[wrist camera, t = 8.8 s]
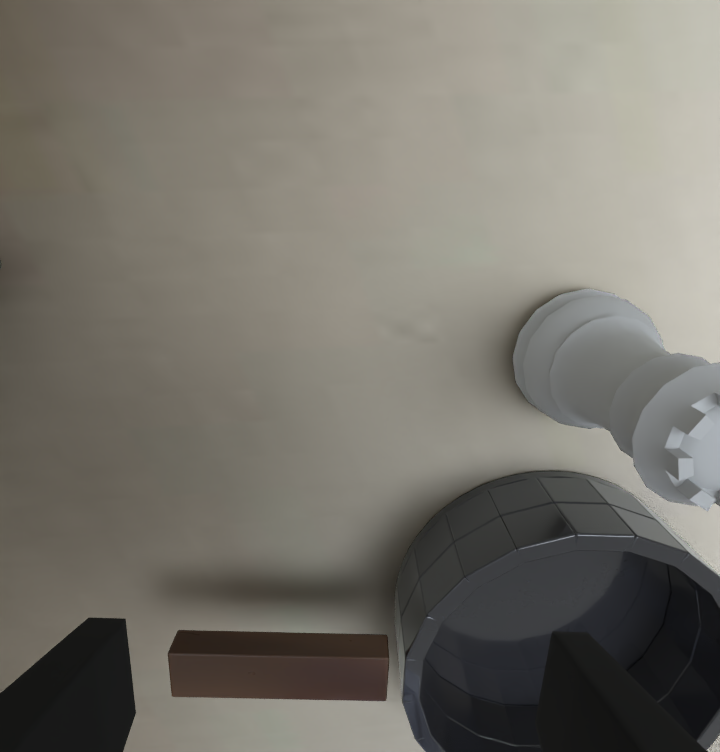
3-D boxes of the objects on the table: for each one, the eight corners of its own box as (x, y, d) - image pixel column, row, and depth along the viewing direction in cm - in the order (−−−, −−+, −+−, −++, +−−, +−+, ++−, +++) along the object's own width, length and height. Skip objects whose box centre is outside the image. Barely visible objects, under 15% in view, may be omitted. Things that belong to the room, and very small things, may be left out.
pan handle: (384, 675, 18) (386, 702, 17) (181, 671, 18) (171, 697, 17) (387, 633, 17) (389, 658, 16) (177, 628, 17) (166, 653, 16)
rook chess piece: (649, 285, 17) (895, 341, 9) (630, 413, 18) (831, 555, 10) (513, 287, 17) (644, 345, 9) (503, 414, 18) (612, 558, 10)
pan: (646, 707, 22) (707, 810, 18) (387, 702, 22) (394, 804, 18) (706, 474, 19) (795, 539, 15) (402, 466, 19) (414, 530, 15)
